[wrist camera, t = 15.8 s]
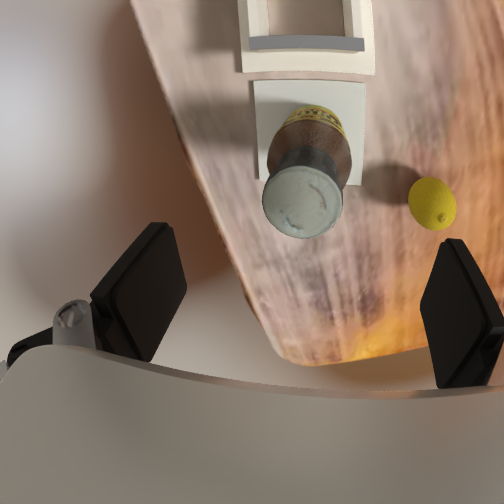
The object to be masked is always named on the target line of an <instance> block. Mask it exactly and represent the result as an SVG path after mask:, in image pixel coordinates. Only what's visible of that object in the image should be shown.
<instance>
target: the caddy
mask: <svg viewBox="0 0 504 504" xmlns="http://www.w3.org/2000/svg"><path fill="white" fill-rule="evenodd" d="M237 2H238V15H239V28H240V42H241V55H242V69H243V73H252V72H273V71H317V72H338V73H352V74H363V75H373V76H375V50H374V30H373V16H372V5H371V0H342V5H343V17H344V32H345V37H344V36H328V35H272V36H270V33H269V19H268V6H267V0H237Z"/></svg>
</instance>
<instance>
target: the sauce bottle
mask: <svg viewBox="0 0 504 504" xmlns="http://www.w3.org/2000/svg"><path fill="white" fill-rule="evenodd" d="M351 158H352V157H351V151H350V146H349V143H348V140H347V138H346V135H345V132H344V129H343V126H342V124H341V122H340V120H339V118H338V117H337V116H336V115H335V114H334V113H333V112H332V111H331V110H329V109H327V108H325V107H323V106H319V105H307V106H303V107H301V108H298V109H297V110H295V111H294V112H293V113H292V114H291V115H290V116H289V117H288V118H287V120H286V121H285V122H284V123H283V125H282V126H281V127H280V129H279V130H278V131H277V132H276V134H275V135H274V137H273V139H272V142H271V145H270V147H269V150H268V155H267V168H268V172H269V177H268V179H267V182H266V184H265V187H264V190H263V195H262V205H263V209H264V212H265V215H266V217H267V219H268V220H269V222H270V223H271V224H272V225H273V226H274V227H276V229H277V230H279V231H280V232H282V233H284V234H285V235H288V236H291V237H295V238H300V239H302V238H307V239H309V238H313V237H318V236H320V235H323V234H324V233H326V232H327V231H329V230H330V229H331V228H332V227H333V226H334V224H335V223H336V222H337V221H338V219H339V218H340V215H341V212H342V206H343V192H342V190H343V188H344V186H345V185H346V183H347V181H348V179H349V176H350V172H351V168H352V159H351Z"/></svg>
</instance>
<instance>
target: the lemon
mask: <svg viewBox="0 0 504 504" xmlns="http://www.w3.org/2000/svg"><path fill="white" fill-rule="evenodd" d="M408 204H409V208H410V211H411V214H412V215H413V217H414V218H415V220H416V221H417V222H418V223H419V224H421V225H422V226H423V227H425V228H427V229H429V230H433V231H438V230H442V229H445V228H446V227H448V226H449V225H450V224H451V223H452V221H453V220H454V218H455V215H456V201H455V198H454V196H453V193H452V191H451V190H450V188H449V187H448V186H447V185H446V184H445V183H444V182H442V181H441V180H439V179H437V178H434V177H424V178H421V179H419V180H417V181H416V182H415V183H414V184H413V185H412V187H411V188H410V191H409V195H408Z"/></svg>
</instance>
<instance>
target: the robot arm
mask: <svg viewBox="0 0 504 504" xmlns="http://www.w3.org/2000/svg"><path fill="white" fill-rule="evenodd" d="M186 291H187V283H186V280H185V276H184V272H183V268H182V264H181V260H180V256H179V252H178V248H177V244H176V240H175V235H174V231H173V228H172V227H169V225H168V224H167V223H166V222H165V223H164V222H151V223H150V224H149V225H148V226H147V227H146V228H145V230H144V231H143V232H142V233H141V234H140V235H139V236H138V237H137V239H136V240H135V241H134V242H133V243H132V244H131V245H130V246H129V248H128V249H127V250H126V251H125V252H124V253H123V255H122V256H121V257H120V258H119V259H118V260H117V262H116V263H115V264H114V265H113V266H112V268H111V269H110V270H109V271H108V273H107V274H106V275H105V276H104V277H103V279H102V280H101V281H100V282H99V284H98V285H97V286H96V288H95V289H94V290H93V291H92V293H91V294H90V297H91V299H92V301H91V303H90V304H89V303H88V302H87V301H85V300H82V299H79V300H73V301H70V302H68V303H66V304H64V305H63V306H62V307H61V308H60V309H59V310H58V311H57V312H56V314H55V316H54V319H53V327H51V328H48V329H46V330H44V331H41V332H39V333H37V334H34V335H33V336H30V337H28V338H25V339H23V340H21V341H19V342H17V343H16V344H14V346H13V347H12V348H11V350H10V352H9V354H8V358H7V362H6V361H5V360H3V361H2V362H1V363H0V504H504V317H503V314H502V312H501V310H500V308H499V306H498V304H497V302H496V300H495V297H494V295H493V293H492V291H491V289H490V288H489V286H488V284H487V282H486V280H485V278H484V276H483V274H482V272H481V271H480V269H479V267H478V265H477V264H476V262H475V260H474V258H473V257H472V255H471V253H470V252H469V250H468V248H467V247H466V245H465V243H464V242H463V240H461V239H452V238H447V239H446V240H445V242H442V243H441V244H440V246H439V250H438V253H437V256H436V259H435V262H434V265H433V268H432V271H431V274H430V277H429V280H428V283H427V286H426V288H425V291H424V294H423V296H422V299H421V302H420V311H421V315H422V319H423V323H424V327H425V331H426V335H427V340H428V344H429V348H430V353H431V357H432V363H433V368H434V373H435V379H436V385H437V387H438V388H439V389H434V390H412V391H347V390H325V389H310V388H297V387H287V386H278V385H269V384H261V383H253V382H246V381H239V380H232V379H226V378H220V377H213V376H208V375H203V374H198V373H192V372H187V371H182V370H178V369H173V368H169V367H164V366H160V365H156V364H151V363H149V362H150V361H151V360H152V358H153V356H154V354H155V352H156V350H157V348H158V346H159V344H160V342H161V340H162V338H163V336H164V334H165V333H166V331H167V329H168V327H169V325H170V322H171V321H172V319H173V317H174V315H175V313H176V311H177V309H178V307H179V305H180V303H181V301H182V300H183V298H184V296H185V294H186Z"/></svg>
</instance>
